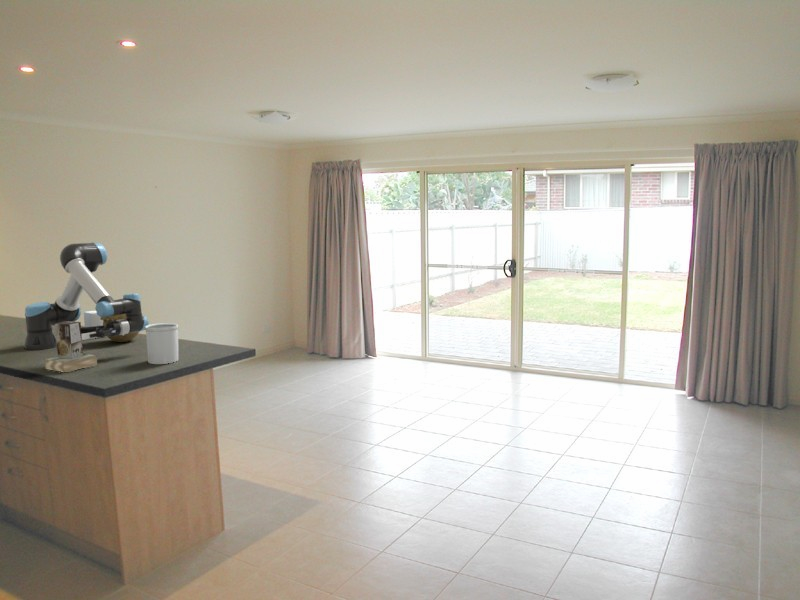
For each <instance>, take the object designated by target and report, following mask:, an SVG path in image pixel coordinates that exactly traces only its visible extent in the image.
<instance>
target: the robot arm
mask: <svg viewBox="0 0 800 600" xmlns="http://www.w3.org/2000/svg"><path fill="white" fill-rule="evenodd" d="M107 260H108V253H107V249H106V247H105V246H104V245H103V244H102V243H100V242H83V243H70V244H68V245H66V246H64V247H63V248H62V249H61V252H60V255H59V262H60V264H61V267H62V268H63V269H64V271H65V272H66V273H67V274H70V276H69V278H68V280H67V282H66V284H65V287H64V289H63V292H62V294H61V295H60V296H58V297H57V298H56V299H55V301H54V302H53V303H50V302H49V301H41V302H35V303H31V304H28V305H27V306H25V310H24V316H25V327H26V336H25V339H24V340H25V341H24V342H23V347H24V348H25V349H24V348H23V349H24V350H27V349H28V350H29V351H38V350H48V349H53V348H57V340H56V337H55V336H56V335H54V332H53V326H55V323H60V322H64V321H72V322H77V321H78V320H79V318H80V317H81V315H82V307H81V305H80V302H79V301H80V299H81V296H82V295H83V292H85V293H86V294H87V295H88V297H90V298H91V300H92V301H93V302H94V304H95V310H96V311H97V315H98V316H100V317H111V316H115V315H121V314H126V319H120V320H116V321H109V322H107V324H106V326H93V327H85V326H83V327H82V326H81V337H82V341H85V340H86V341H87V340H93V339H92V338H96V337H98V338H96V339H104V338H107V337H106V336H111V337H113V336H118V335H123V336H124V334H129V333H134V332H139V333H141V332H143V331H146V330H145V326H147V325H150V321H149V320H148V317H147V316H145V315H143V313H142V304H141V302H142V301H141V298H140V294H139V293H137V292H136V293H127V294H124V295H123V296H122V297H123V298H120V299H114V298H113V297H112V296H111V295H110V293H109V292H108V291H107V290H106V288H104V286H103V285H102V284H101V283H100V282H99V280H97V278H96V277H95V276H94V274H93V273H95V272H96V271H97V270H98V269H99V266H102V265H105V264H106V263H107ZM99 337H101V338H99ZM28 350H27V351H28Z"/></svg>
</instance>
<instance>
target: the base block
mask: <svg viewBox="0 0 800 600" xmlns="http://www.w3.org/2000/svg"><path fill="white" fill-rule="evenodd" d="M95 365H97V366H98V357H97V355H95V354H91V353H89V354H88V353H84V352H83V356H82V357H78V358H74V359H70V358H58V355H57V356H54V357H49V358H45V359H44V366H45V367H44V368H45V370H46V369H50V370H56V371H61V372H67V371H72V370H77V369H81V368H85V369H87V368H86V367H89V368H91V367H90V366H94V367H96V366H95ZM50 370H49V371H50ZM81 370H82V369H81ZM77 371H78V370H77Z"/></svg>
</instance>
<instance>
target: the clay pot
mask: <svg viewBox="0 0 800 600" xmlns="http://www.w3.org/2000/svg"><path fill="white" fill-rule="evenodd" d="M100 319H101V320H103V326H106V324H107V322H109V321H116V320H120V319H126V314H121V315H115V316H111V317H101V318H100ZM139 333H140V332H134V333H129V334H124V336H123V335H118V336H113V337H111V336H107V337H106V338H108V339H109V340H111V341H113V342H117V343H126V342H128V341H131V340H133V339H135V338H136V337H137V336H138V334H139Z"/></svg>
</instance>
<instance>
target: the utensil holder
mask: <svg viewBox="0 0 800 600" xmlns="http://www.w3.org/2000/svg"><path fill="white" fill-rule="evenodd" d="M144 331H145V335H146V336H145V337H146V351H147V362H148V364H150V365H167V364H168V363H169V364H173V362H174V363H177V362H178V361H179V324H178V323H169V322H168V323H167V322H165V323H162V322H161V323H153V324H149V325H147V326H145V330H144ZM176 361H177V362H176Z"/></svg>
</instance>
